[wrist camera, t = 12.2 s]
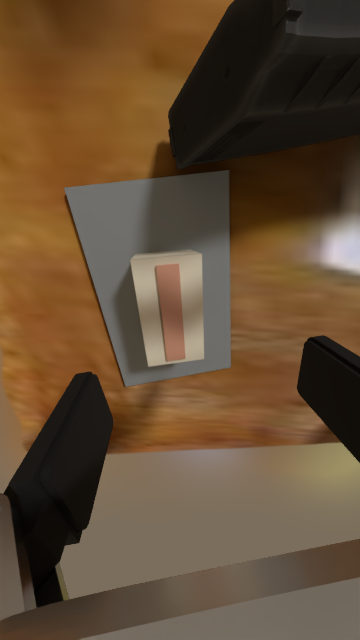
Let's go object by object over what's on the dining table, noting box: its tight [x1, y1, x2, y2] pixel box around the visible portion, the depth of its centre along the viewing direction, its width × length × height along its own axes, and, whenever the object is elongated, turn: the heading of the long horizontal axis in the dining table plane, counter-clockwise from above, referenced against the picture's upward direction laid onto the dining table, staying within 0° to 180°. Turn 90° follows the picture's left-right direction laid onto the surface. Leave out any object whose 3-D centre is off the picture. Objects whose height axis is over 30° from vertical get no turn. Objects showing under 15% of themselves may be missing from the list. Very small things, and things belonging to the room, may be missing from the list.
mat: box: [64, 170, 231, 387], centre depth 20 cm, size 13×20×1 cm, turn 7°
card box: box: [130, 250, 204, 367], centre depth 17 cm, size 9×5×5 cm, turn 4°
